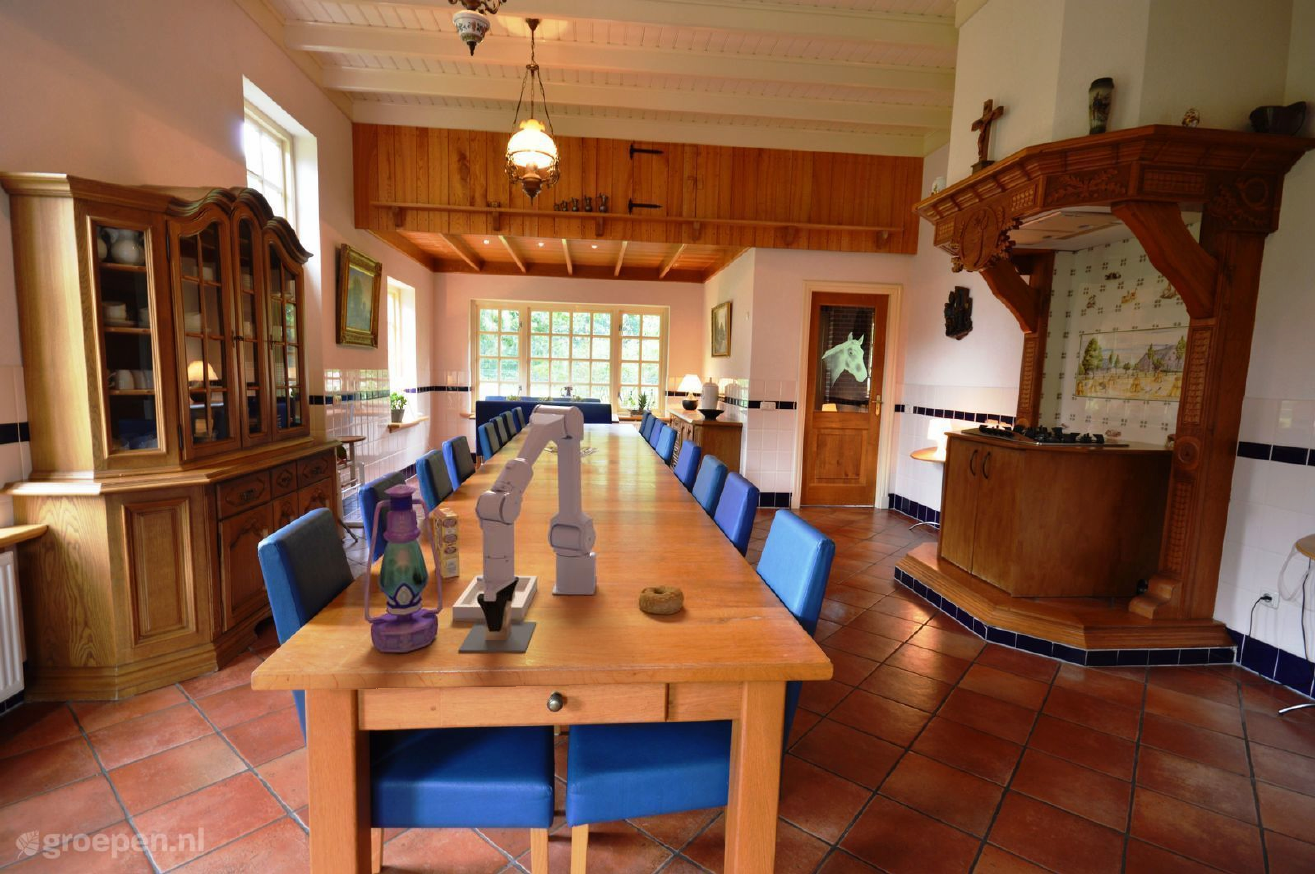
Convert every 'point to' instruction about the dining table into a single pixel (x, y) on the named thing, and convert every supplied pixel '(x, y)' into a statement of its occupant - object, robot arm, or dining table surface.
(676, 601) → the bagel
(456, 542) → the candy box
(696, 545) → the dining table surface
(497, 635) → the maple block
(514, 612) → the tray
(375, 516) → the lantern
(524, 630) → the rubber mat
